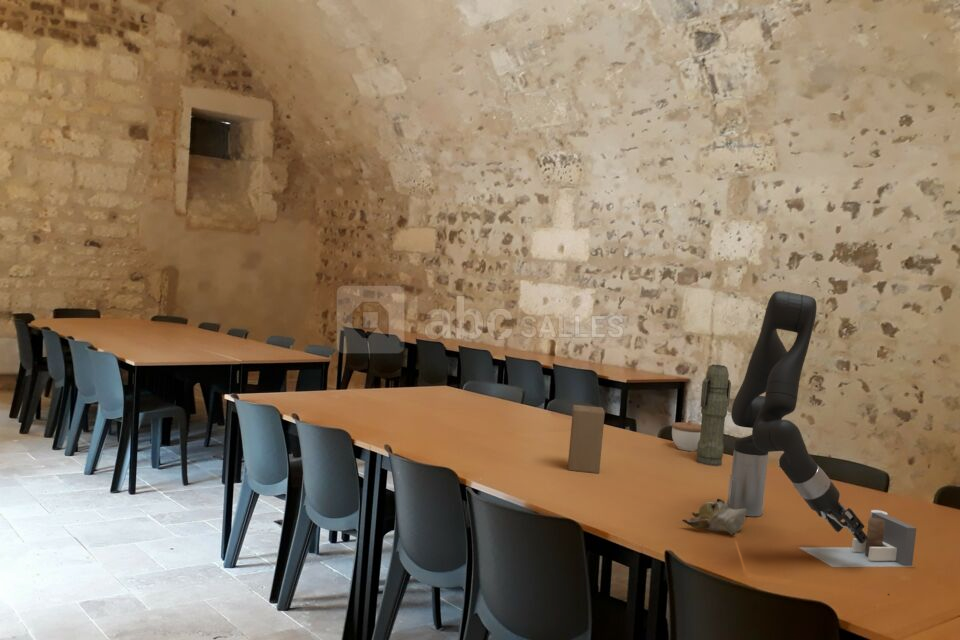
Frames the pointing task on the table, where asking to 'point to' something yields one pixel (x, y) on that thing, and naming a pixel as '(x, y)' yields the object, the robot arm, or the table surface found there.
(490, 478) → the table surface
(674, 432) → the lidded bowl
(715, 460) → the olive green tall piece
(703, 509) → the ceramic sculpture
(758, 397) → the robot arm
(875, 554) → the cradle
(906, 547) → the board with wall
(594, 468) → the wooden block
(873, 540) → the dowel
